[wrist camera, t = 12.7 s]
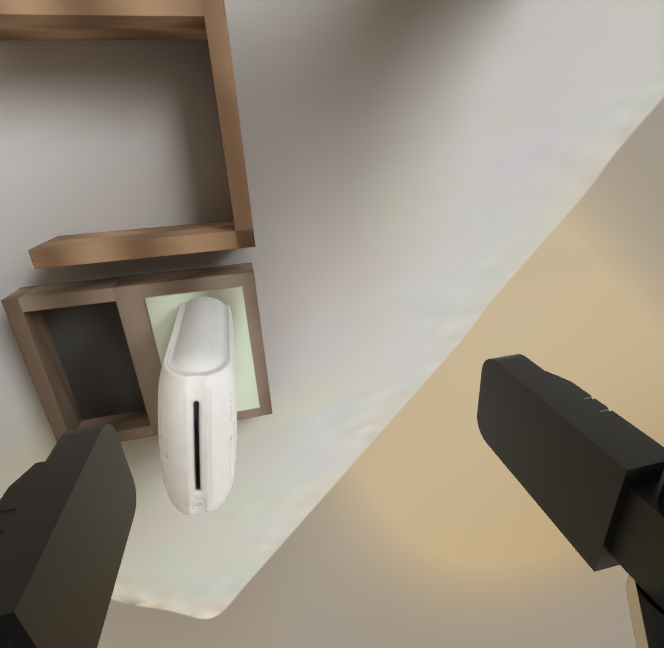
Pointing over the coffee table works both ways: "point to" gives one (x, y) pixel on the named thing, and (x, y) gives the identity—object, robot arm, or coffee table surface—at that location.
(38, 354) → the two-compartment wooden organizer
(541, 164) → the coffee table surface
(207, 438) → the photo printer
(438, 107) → the coffee table surface
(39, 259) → the wooden cubby shelf
